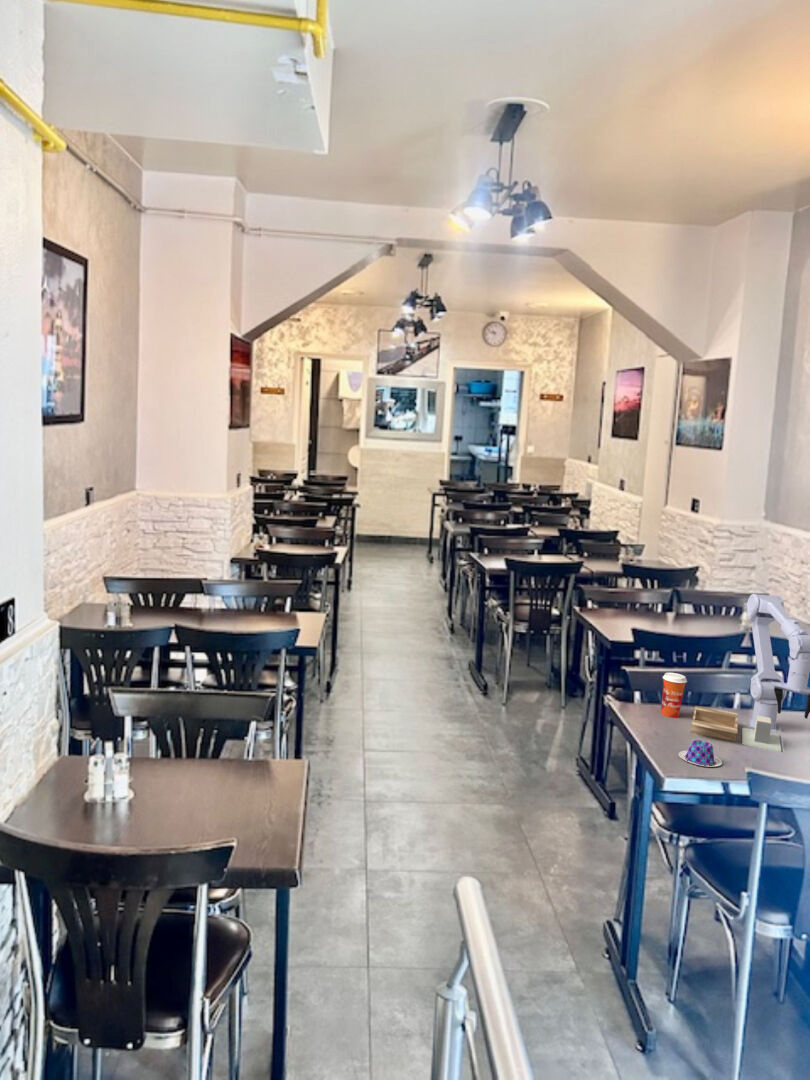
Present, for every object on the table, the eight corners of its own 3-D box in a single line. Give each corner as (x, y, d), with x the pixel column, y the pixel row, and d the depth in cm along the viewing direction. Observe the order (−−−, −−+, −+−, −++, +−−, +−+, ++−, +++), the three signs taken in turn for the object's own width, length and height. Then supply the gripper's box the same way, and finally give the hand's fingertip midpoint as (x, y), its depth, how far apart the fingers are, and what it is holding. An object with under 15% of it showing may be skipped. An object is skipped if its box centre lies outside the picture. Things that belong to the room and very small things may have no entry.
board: (741, 730, 280) (742, 727, 279) (778, 737, 276) (779, 734, 276) (741, 745, 265) (742, 742, 265) (780, 753, 261) (781, 750, 261)
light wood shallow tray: (693, 718, 287) (695, 705, 287) (735, 726, 283) (737, 713, 282) (690, 737, 268) (691, 723, 267) (735, 746, 263) (737, 732, 262)
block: (754, 733, 274) (756, 715, 274) (767, 736, 273) (770, 717, 272) (754, 741, 267) (757, 722, 266) (768, 744, 265) (771, 725, 265)
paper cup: (657, 717, 285) (663, 676, 283) (657, 710, 292) (663, 670, 290) (682, 721, 283) (688, 680, 281) (681, 715, 290) (687, 674, 288)
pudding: (714, 772, 241) (716, 754, 240) (672, 759, 248) (674, 742, 247) (727, 761, 250) (729, 744, 250) (686, 749, 258) (688, 732, 257)
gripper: (774, 671, 266) (767, 713, 268) (825, 680, 261) (818, 723, 263) (773, 666, 273) (767, 707, 274) (823, 674, 268) (817, 717, 269)
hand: (792, 715), depth 269 cm, fingers open, 7 cm apart
